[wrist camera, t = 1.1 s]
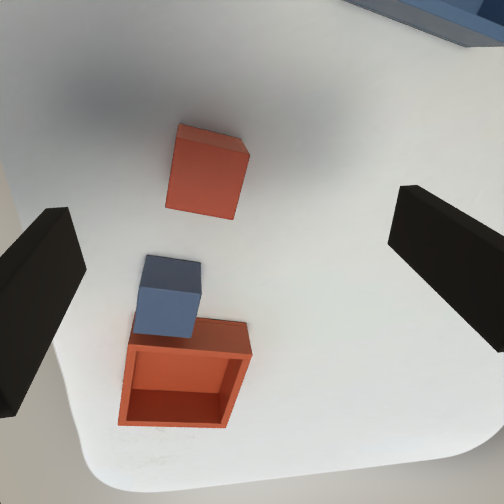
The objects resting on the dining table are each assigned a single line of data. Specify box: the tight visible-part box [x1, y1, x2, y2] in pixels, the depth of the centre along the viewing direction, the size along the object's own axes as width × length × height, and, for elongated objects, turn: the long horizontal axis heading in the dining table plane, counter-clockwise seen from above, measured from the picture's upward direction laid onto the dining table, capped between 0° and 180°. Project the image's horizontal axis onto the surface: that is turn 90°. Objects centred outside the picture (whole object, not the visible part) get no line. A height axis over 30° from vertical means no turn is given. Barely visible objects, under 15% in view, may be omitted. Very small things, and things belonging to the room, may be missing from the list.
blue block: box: [133, 255, 202, 338], centre depth 31 cm, size 5×5×5 cm
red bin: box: [118, 312, 252, 428], centre depth 37 cm, size 12×12×5 cm
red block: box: [165, 124, 250, 220], centre depth 26 cm, size 5×5×5 cm
